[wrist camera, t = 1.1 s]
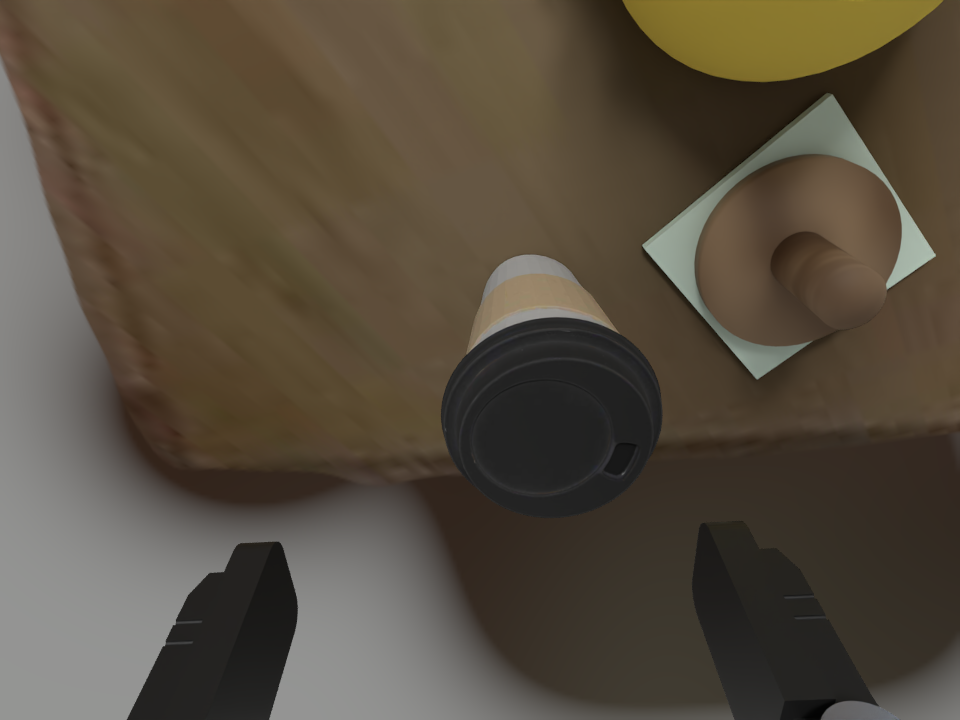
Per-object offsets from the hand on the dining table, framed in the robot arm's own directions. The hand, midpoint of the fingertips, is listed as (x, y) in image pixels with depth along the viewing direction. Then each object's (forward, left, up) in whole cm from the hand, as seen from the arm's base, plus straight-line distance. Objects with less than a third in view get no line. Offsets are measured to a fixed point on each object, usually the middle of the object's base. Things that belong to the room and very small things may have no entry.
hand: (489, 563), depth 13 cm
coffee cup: (+2, +6, -28) cm, 28 cm away
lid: (-11, +14, -27) cm, 32 cm away
